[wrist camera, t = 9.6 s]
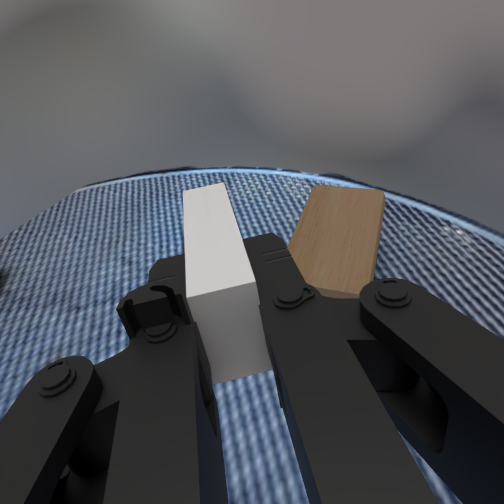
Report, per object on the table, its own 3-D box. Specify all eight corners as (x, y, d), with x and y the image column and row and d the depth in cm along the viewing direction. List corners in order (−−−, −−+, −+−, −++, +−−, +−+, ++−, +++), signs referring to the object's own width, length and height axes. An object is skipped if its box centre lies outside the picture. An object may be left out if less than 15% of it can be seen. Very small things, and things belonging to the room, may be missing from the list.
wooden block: (276, 337, 45) (312, 236, 59) (361, 356, 42) (378, 245, 56) (270, 279, 38) (312, 181, 52) (370, 296, 35) (387, 187, 49)
